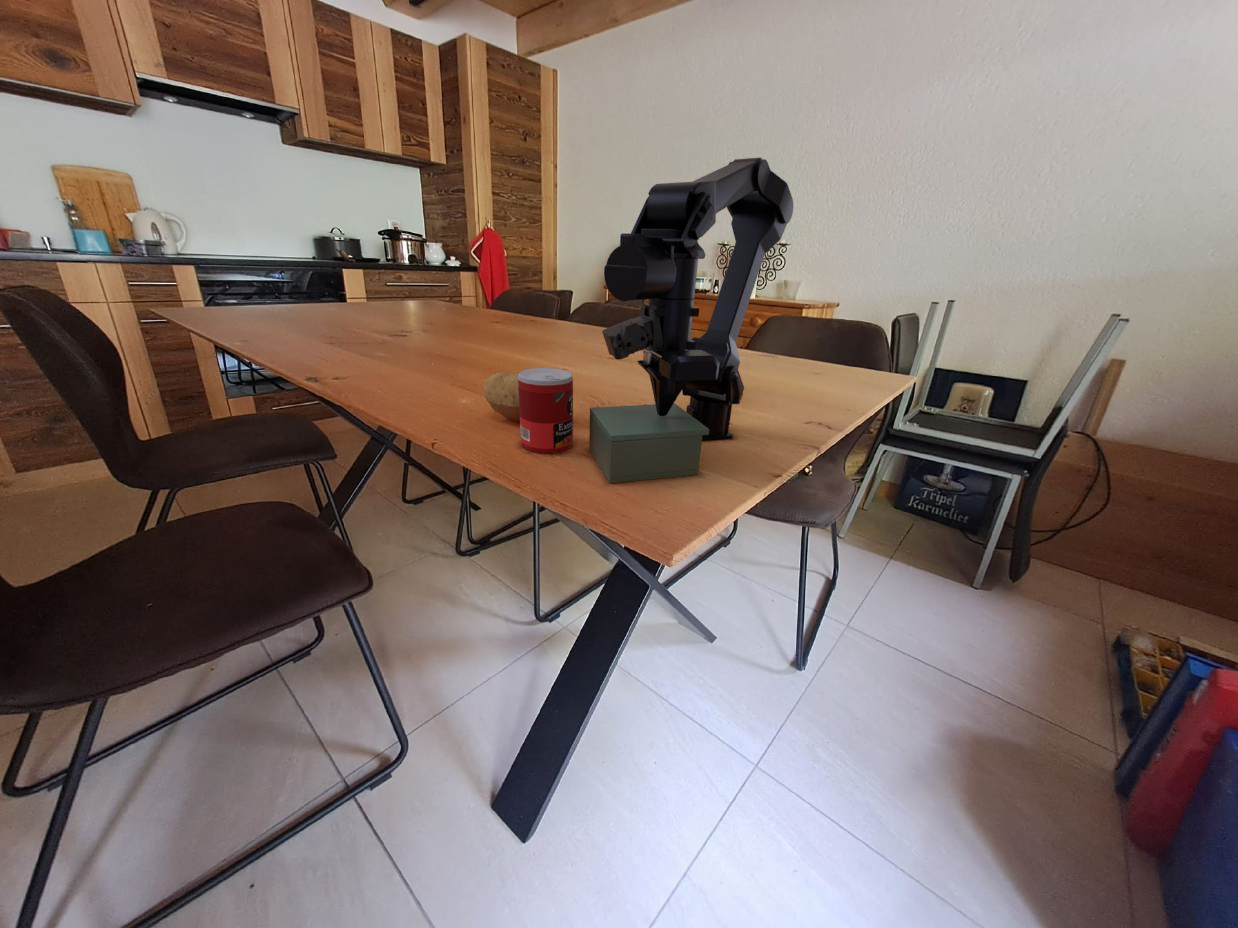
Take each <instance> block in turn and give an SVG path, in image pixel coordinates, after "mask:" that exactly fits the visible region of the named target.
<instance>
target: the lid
mask: <svg viewBox="0 0 1238 928" xmlns="http://www.w3.org/2000/svg"><path fill="white" fill-rule="evenodd" d="M590 414H591V415H592V416H593V418H594V419H595V420H596V422H597V423H598V424H599V426H600V427H601V428H602V430H603V431H604V432H605V434H606V435H607V437H608V438H609V439H610V441H626V440H640V439H655V438H669V437H684V436H699V435H709V429H708V428H707V427H706V426H704V425H703V424H702V423H700V422H699V421H698V420H696V419H695V418H694V417H692V416H691V415H690V414H688V413H687V412H686V410H685V409H683V408H682V407H681V406H679V405H678V404H677V403H674V404H673V405H672V407H671V409H670V410H669V412H668V414H667V415H666V416H659V415H658V414H657V410H656V405H655V404H637V405H636V404H635V405H618V406H617V405H616V406H598V407H597V406H595V407H589V415H590Z"/></svg>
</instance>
